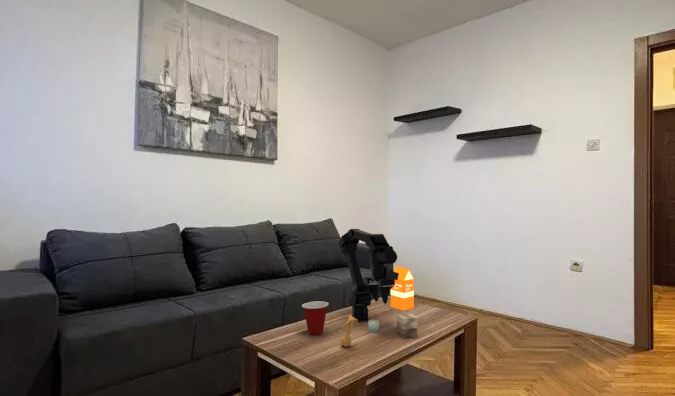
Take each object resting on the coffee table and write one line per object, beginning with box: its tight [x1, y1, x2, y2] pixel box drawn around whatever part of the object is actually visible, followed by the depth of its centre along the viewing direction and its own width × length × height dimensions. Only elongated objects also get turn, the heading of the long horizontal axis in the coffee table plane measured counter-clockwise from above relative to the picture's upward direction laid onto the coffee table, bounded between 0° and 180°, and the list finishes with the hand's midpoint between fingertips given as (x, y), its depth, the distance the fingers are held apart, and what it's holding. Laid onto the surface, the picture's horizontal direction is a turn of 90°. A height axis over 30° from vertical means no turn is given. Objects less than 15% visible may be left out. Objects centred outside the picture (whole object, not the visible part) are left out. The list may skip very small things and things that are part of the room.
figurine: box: [340, 314, 359, 348], centre depth 140 cm, size 8×6×12 cm
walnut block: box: [396, 324, 418, 340], centre depth 153 cm, size 6×6×4 cm
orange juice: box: [390, 265, 415, 311], centre depth 193 cm, size 8×9×20 cm
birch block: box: [396, 312, 418, 329], centre depth 153 cm, size 6×6×4 cm
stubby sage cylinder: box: [367, 319, 380, 334], centre depth 158 cm, size 5×5×4 cm
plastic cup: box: [301, 300, 329, 336], centre depth 155 cm, size 11×11×12 cm
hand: (380, 302), depth 158 cm, fingers open, 9 cm apart
